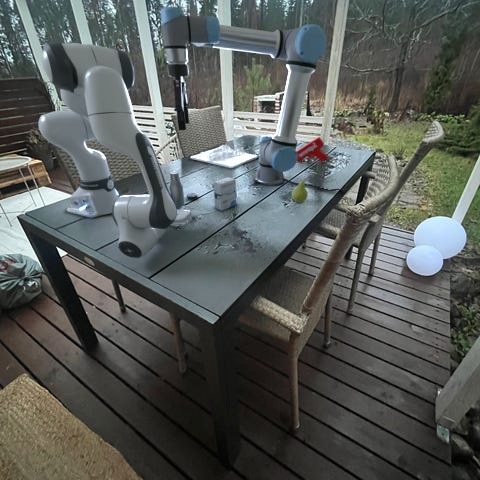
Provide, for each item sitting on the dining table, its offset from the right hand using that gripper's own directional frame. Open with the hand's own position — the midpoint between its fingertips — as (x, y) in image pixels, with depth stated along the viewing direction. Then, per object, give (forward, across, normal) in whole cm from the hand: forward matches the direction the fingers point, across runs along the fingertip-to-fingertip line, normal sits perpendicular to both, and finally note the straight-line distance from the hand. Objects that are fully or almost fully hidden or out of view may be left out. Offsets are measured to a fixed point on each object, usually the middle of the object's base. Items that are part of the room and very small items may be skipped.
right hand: (184, 126), depth 109 cm
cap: (+30, 0, 0) cm, 30 cm away
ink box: (+31, +10, +15) cm, 36 cm away
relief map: (+31, -63, +16) cm, 72 cm away
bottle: (+31, +17, -4) cm, 36 cm away
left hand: (+24, +23, -5) cm, 34 cm away
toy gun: (+31, -51, +70) cm, 92 cm away
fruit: (+31, +8, +48) cm, 58 cm away
